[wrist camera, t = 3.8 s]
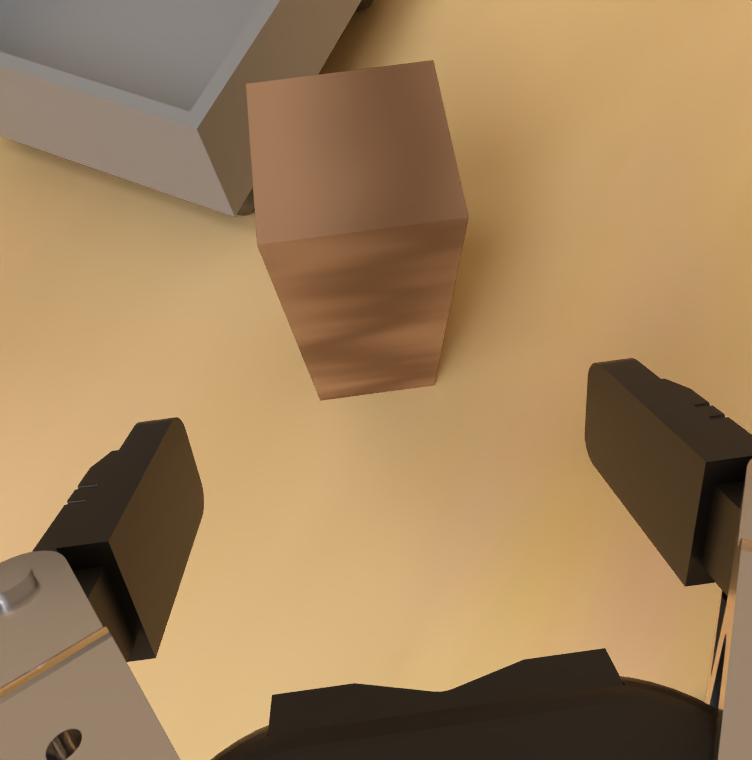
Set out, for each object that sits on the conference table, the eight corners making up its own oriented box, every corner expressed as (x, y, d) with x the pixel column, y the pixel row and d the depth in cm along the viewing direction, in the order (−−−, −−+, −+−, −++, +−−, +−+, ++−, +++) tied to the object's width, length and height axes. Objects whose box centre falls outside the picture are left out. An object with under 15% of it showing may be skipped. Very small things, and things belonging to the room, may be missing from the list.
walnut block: (320, 400, 24) (257, 244, 13) (309, 298, 26) (246, 83, 15) (434, 385, 24) (468, 217, 13) (416, 285, 26) (433, 60, 15)
